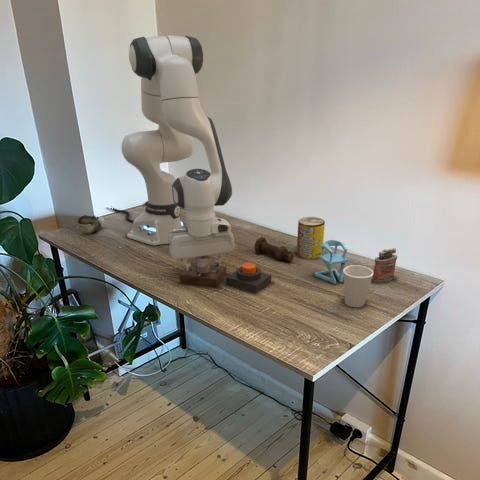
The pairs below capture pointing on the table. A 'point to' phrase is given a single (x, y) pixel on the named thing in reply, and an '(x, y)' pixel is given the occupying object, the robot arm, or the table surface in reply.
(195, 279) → the dial base
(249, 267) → the button
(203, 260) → the knob
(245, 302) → the table surface
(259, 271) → the button box
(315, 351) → the table surface
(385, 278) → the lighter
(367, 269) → the dixie cup
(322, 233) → the beverage can
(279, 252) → the bolt
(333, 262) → the chair
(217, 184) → the robot arm
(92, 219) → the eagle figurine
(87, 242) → the table surface
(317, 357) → the table surface
